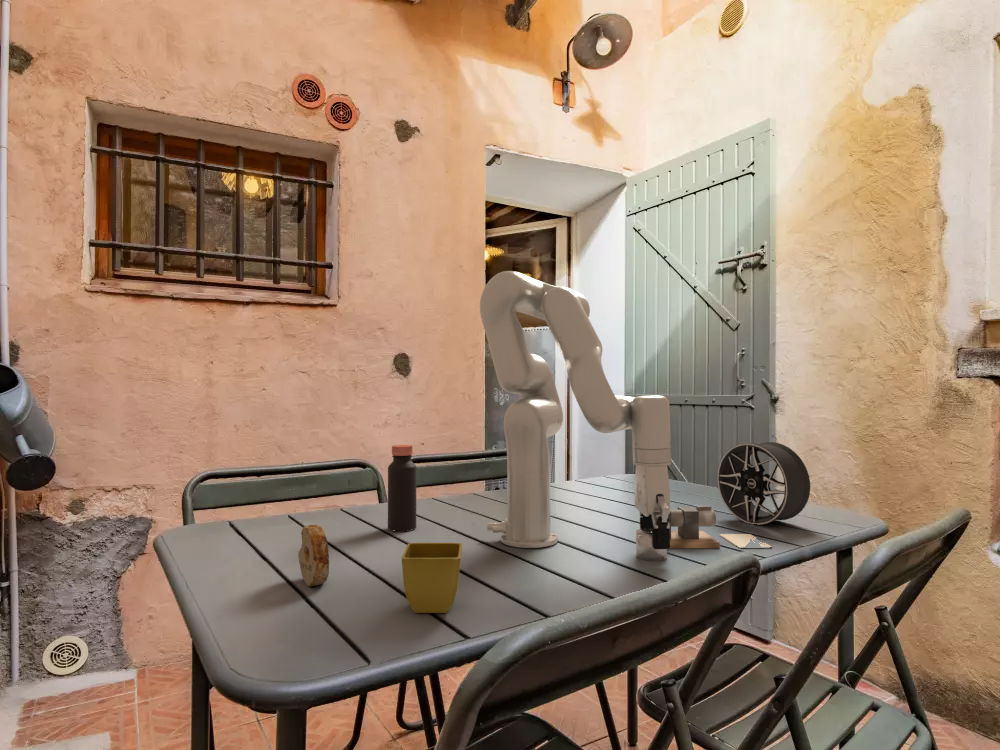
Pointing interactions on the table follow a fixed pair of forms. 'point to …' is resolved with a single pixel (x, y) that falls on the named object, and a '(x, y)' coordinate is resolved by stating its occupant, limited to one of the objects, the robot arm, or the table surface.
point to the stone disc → (314, 555)
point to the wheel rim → (762, 482)
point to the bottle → (402, 489)
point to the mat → (741, 539)
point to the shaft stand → (692, 527)
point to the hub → (648, 546)
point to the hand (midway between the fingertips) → (654, 542)
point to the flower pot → (431, 575)
